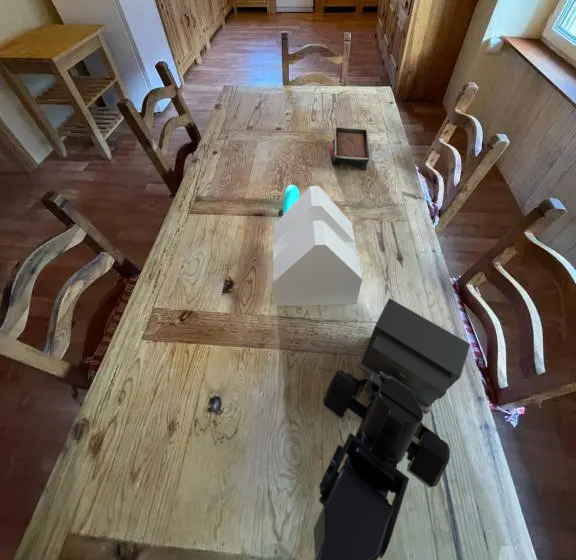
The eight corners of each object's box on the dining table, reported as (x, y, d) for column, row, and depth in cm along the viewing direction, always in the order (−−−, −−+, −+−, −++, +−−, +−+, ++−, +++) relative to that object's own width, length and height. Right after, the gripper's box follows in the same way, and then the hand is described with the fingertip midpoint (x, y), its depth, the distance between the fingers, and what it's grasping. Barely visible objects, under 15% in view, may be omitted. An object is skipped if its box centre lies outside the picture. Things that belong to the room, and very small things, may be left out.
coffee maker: (423, 426, 64) (457, 399, 50) (351, 376, 70) (364, 339, 56) (439, 379, 70) (474, 343, 56) (371, 336, 76) (387, 294, 62)
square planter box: (369, 150, 125) (371, 125, 119) (370, 177, 111) (372, 151, 105) (330, 148, 128) (330, 124, 122) (326, 176, 113) (326, 150, 108)
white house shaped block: (275, 306, 81) (269, 246, 64) (276, 251, 92) (270, 187, 75) (356, 303, 81) (371, 243, 64) (346, 249, 92) (357, 184, 75)
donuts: (289, 200, 106) (288, 177, 99) (321, 204, 104) (322, 181, 97) (282, 225, 99) (281, 202, 92) (316, 230, 97) (318, 207, 90)
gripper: (469, 453, 42) (463, 392, 56) (336, 361, 50) (360, 327, 64) (431, 528, 43) (435, 450, 57) (306, 426, 51) (337, 379, 65)
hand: (390, 397), depth 61 cm, fingers open, 9 cm apart
